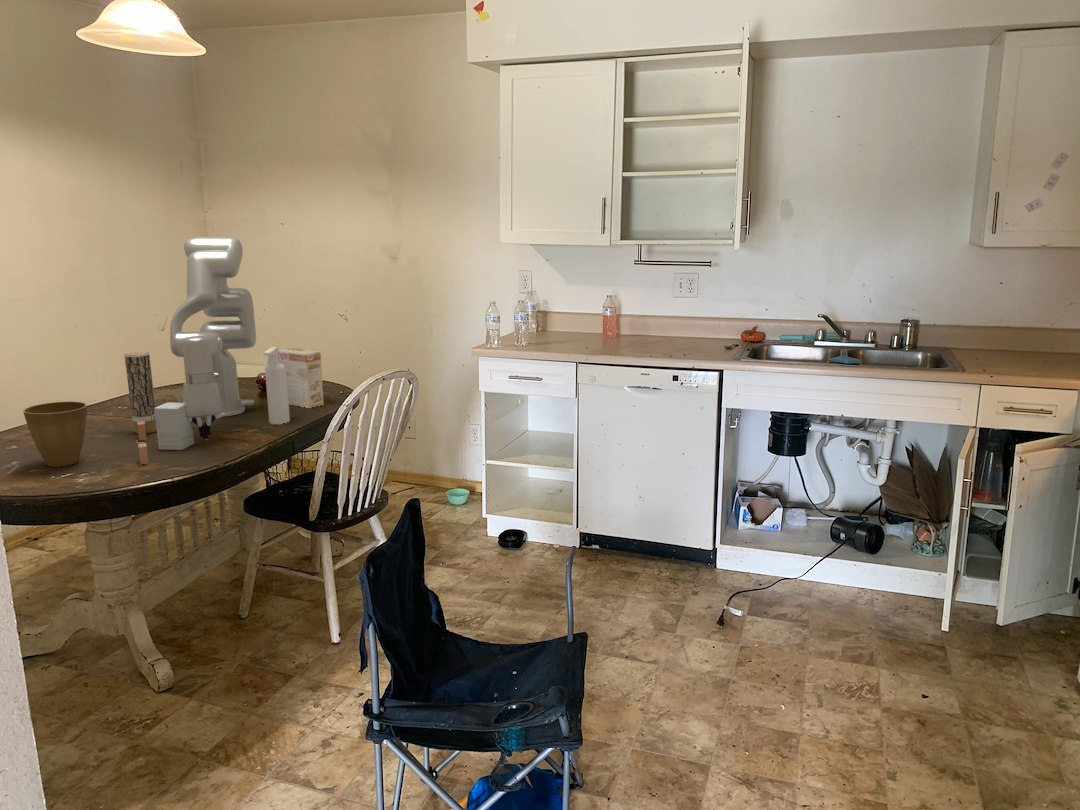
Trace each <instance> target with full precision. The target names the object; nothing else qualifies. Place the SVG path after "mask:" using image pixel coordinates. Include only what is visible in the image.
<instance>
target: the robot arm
mask: <svg viewBox="0 0 1080 810" xmlns="http://www.w3.org/2000/svg"><path fill="white" fill-rule="evenodd" d="M243 250H244V249H243V245H242V243H241V241H240V240H239V239H238V238H236V237H234V236H233V237H232V236H228V237H227V236H200V237H190V238H187V239H186V240H185V241H184V242H183V251H184V253H185V256H186V257H187V258H186V259H187V260H186V299H185V300H184V301H183V302H182V303H181V304H180V305H179V307H178V308H176V310H175V312H174V314H173V316H172V318H171V321H170V327H169V328H170V329H169V330H170V332H169V333H170V334H169V336H170V337H169V343H170V344H169V345H170V346H169V347H170V349H171V353H172V354H173V355H174V356H175V357H177V358H183V365H184V373H185V382H184V383H182V384H183V385H182V386H183V387H182V403H184V406H185V411H186V416H187V417H189V421H191V422H192V423H194V424H195V425H197V426H198V431H199V437H201V438H202V440H209V437H210V436H211V435H212V433H211V425H212V424H213V422H214V421H215V420H217V419H221V418H223V417H231V416H232V417H233V416H237V415H241V414H243V413H244V412H245V411H246V408H245V406H246V407H247V406H255V402H254V401H255V400H254V399H241V397H240V392H239V381H238V371H237V370H238V369H237V362H236V359H235V357H234V356H233V354H231V353H230V352H229V350H236V349H238V350H239V349H251V348H253V347H254V346H255V345H256V342H257V333H256V332H257V329H256V320H255V310H254V309H255V308H254V301H253V297H252V294H251V292H250V291H249V290H248V289H247V288H244V287H228V286H229V285H228V279H233V278H235V277H236V276H237V275H238V273H239V271H240V266H241V263H242V260H243V259H242V258H243ZM202 311H203V314H204V315H206V316H207V317H211V318H229V317H231V318H235V317H236V318H238V320H211V321H207V322H205V323H203V324H202V325H201V327H200V329H199V331H182V328H183V327H184V323H185V322H186V321H187V320H188V319H189V318H190V317H191V316H194V315H195V314H197V313H199V312H202ZM202 417H205V422H204V423H203V421H202Z"/></svg>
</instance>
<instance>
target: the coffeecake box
mask: <svg viewBox="0 0 1080 810" xmlns="http://www.w3.org/2000/svg"><path fill="white" fill-rule="evenodd" d="M278 350H279V352H278V353H277V354H278V355H279V356H280V357H281V362H282V364H283V365H284V366H285V368H286V375H287V389H288V403H289V406H293V405H294V406H293V407H298V406H300V407H299V408H304V407H305V408H304V409H309V408H310V409H312V407H314V408H317V407H316V406H318V407H321V406H320V405H322V406H324V405H325V403H324V389H323V376H322V375H323V373H322V372H323V371H322V353H321V351H315V350H310V349H302V348H295V347H290V348H283V349H278ZM278 360H279V358H278Z"/></svg>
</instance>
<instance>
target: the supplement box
mask: <svg viewBox="0 0 1080 810" xmlns="http://www.w3.org/2000/svg"><path fill="white" fill-rule="evenodd" d="M154 413H155V421H156V429H157V431H156V437H157V443H158V450H169V451H170V450H172V451H174V450H175V451H183V450H185V449H186V448H188V447H190V446H193V444H195V438H194V429H193V422H191V421H189V417H187V416H186V411H185V406H184V403H183V402H164V403H163V404H161V405H158V406H155V408H154Z"/></svg>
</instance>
